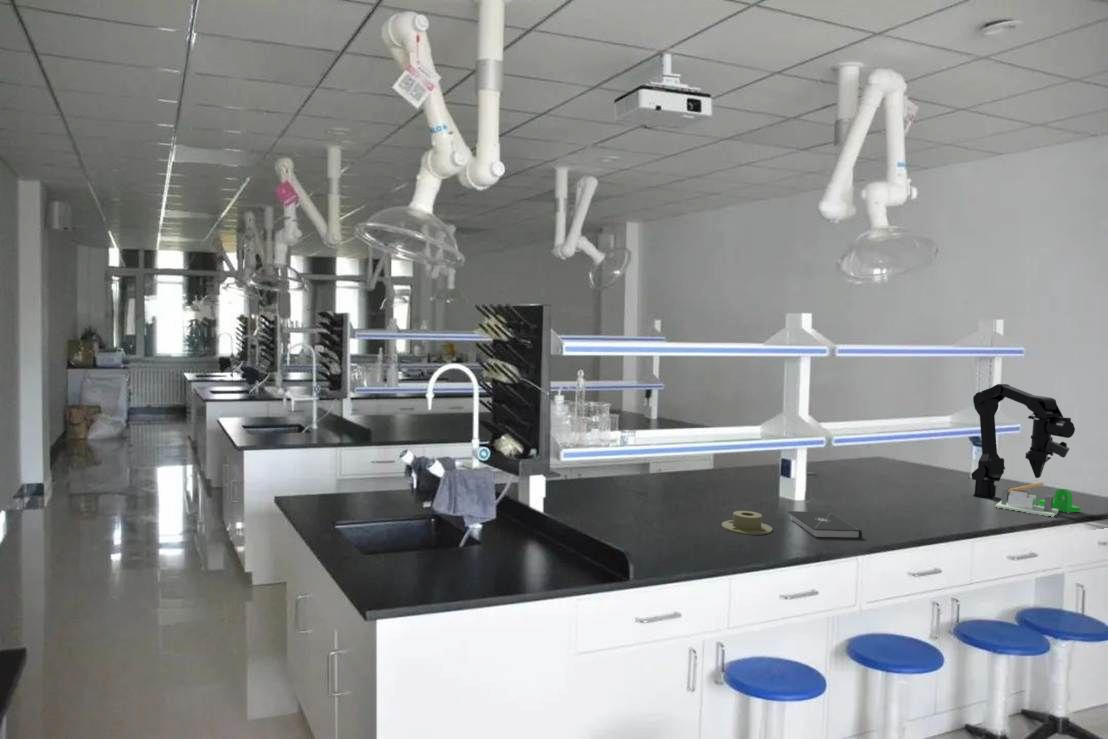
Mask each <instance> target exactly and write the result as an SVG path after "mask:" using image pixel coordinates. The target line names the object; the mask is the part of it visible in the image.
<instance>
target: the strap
mask: <svg viewBox="0 0 1108 739" xmlns="http://www.w3.org/2000/svg"><path fill="white" fill-rule="evenodd" d="M1043 486H1044V482H1043V481H1041V482H1037V483H1031V484H1026V485H1021V486H1018V487H1010V489H1008V492H1010V493H1011V490H1014V491H1017V490H1022V489H1025V490H1028V489H1032V488H1037V487H1043Z"/></svg>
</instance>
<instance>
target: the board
mask: <svg viewBox="0 0 1108 739" xmlns="http://www.w3.org/2000/svg"><path fill="white" fill-rule="evenodd" d="M995 507H997V508H996V509H999V508H1003V509H1002V510H1005V509H1009V510H1008V511H1011V510H1015V511H1014V512H1017V511H1021V512H1020V513H1023V512H1026V513H1025V514H1029V513H1031V515H1036V514H1038V515H1037V516H1042V515H1044V516H1043V517H1048V516H1051V517H1050V518H1055V517H1056V516H1057V515H1058V513H1059V512H1060V511H1059V509H1057V508H1052V511H1051V512H1049V511H1044V506H1041V505H1036V504H1035V507H1034V508H1033V509H1032V510H1031V509H1025V508H1019V507H1012V506H1008V503H1007V505H1004V504H1001V500H1000V501H998V502H997V503H996V504H995ZM1055 515H1056V516H1055ZM1054 516H1055V517H1054Z"/></svg>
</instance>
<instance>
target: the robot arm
mask: <svg viewBox="0 0 1108 739" xmlns="http://www.w3.org/2000/svg"><path fill="white" fill-rule="evenodd" d="M1005 398H1007V399H1009V400H1012V401H1015V402H1016V403H1019V404H1022V405H1023V406H1025V407H1027V409H1028V410H1029V411H1031V412H1032V414H1030V415H1028V417H1027V418H1028V420H1029V419H1030V420H1032V429H1031V430H1032V432H1031V433H1032V434H1031V435H1030V439H1031V444H1030V445H1031V446H1029V450H1028V451H1027V452H1026V453H1025V459H1026V460H1028V462H1029V465H1030V467H1031V470H1032V473H1033V475H1034V477H1035V478H1036V479H1039V478H1040V477H1041V476H1042V473H1043V471H1044V467H1045V464H1046V463H1047V462H1048V461H1050V460H1051V459H1052V457H1053V456H1054V454H1055V455H1058V456H1059V457H1061V458H1066V456H1067V455H1068V454H1069V453H1068V452H1069V451H1070V447H1069V446H1068V444H1067V442H1064V441H1061V442H1055V441H1053V440H1054V438H1053V436H1055V437H1060V438H1065V439H1069V438H1071V437H1072V436H1074V434H1075V431H1076V428H1075V425H1074V423H1073V422H1072V418H1071V417H1064V416H1063V413H1062V412H1061V409H1060V407H1059V406H1058V403H1057V401H1056V399H1055V398H1053V397H1049V396H1043V395H1041V396H1040V395H1034V394H1031V393H1029V392H1027V391H1024V390H1022V389H1019V388H1017V387H1015V386H1011V385H1010V384H1007V383H997V384H995V385H993V386H991V387H989V388H987V389H983V390H982V391H977V392H976V393H975V394H974V395H973V398H972V400H973V407H974V410H975V411H976V412H977V414H978V415H979V423H980V439H981V456H980V458H979V460H978V461H977V462H978V463H977V468H976V469H975V470H974V471H972V472H971V474H970V475H971V479H972V480H974V482H975V483H974V484H975V485H974V494H973V496H974V497H978V498H984V499H990V498H991V500H993V499H994V498H996V496H997V489H998V485H997V484H996V483H997V482H1000V480H1001V478H1002V476H1003V475H1004V473H1005V470H1006V467H1005V458H1003V457H1000V456H999V454H998V448H997V432H996V418H995V416H996V414H997V411H998V409H999V404H1000V402H1001V401H1004V399H1005ZM1049 455H1050V456H1049ZM992 498H993V499H992Z"/></svg>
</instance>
